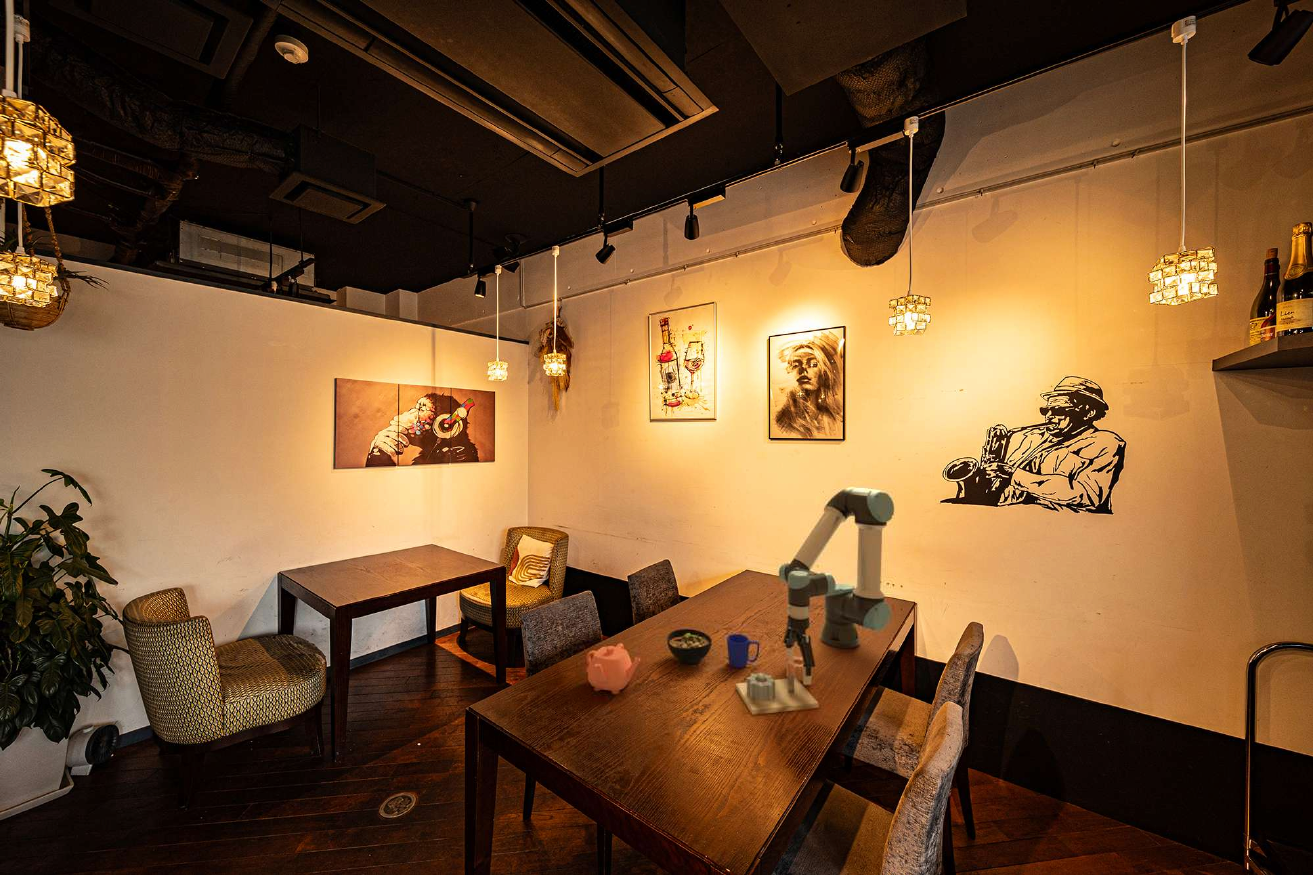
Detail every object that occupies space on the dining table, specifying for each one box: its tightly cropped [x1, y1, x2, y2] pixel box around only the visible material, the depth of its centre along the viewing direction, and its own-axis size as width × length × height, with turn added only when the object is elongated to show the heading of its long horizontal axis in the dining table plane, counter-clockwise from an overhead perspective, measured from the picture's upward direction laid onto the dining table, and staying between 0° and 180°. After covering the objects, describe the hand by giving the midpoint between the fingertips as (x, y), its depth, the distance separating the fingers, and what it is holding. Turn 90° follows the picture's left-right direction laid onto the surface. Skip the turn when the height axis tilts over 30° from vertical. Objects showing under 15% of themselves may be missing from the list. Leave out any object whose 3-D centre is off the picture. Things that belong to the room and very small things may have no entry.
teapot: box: [586, 642, 641, 695], centre depth 168 cm, size 16×17×14 cm
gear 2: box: [785, 655, 813, 682], centre depth 175 cm, size 9×9×5 cm
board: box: [735, 673, 819, 716], centre depth 161 cm, size 22×16×7 cm
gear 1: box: [746, 672, 776, 702], centre depth 160 cm, size 9×9×5 cm
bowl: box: [666, 628, 713, 667], centre depth 187 cm, size 17×17×10 cm
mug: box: [726, 633, 760, 669], centre depth 183 cm, size 8×12×10 cm
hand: (798, 674), depth 175 cm, fingers open, 13 cm apart
